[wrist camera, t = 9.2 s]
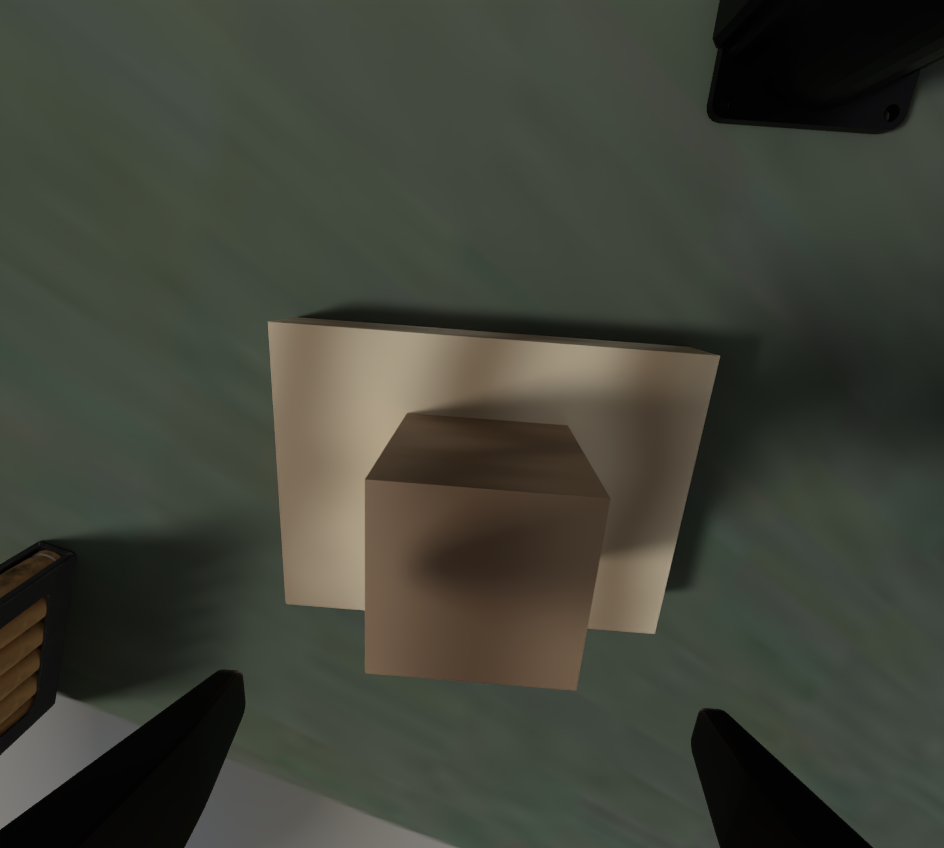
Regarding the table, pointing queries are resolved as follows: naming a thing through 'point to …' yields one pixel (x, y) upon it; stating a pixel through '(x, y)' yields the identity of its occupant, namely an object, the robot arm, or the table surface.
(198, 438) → the table surface
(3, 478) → the table surface
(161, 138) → the table surface
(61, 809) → the robot arm
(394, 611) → the walnut cube
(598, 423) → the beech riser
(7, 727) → the ammunition clip
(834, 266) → the table surface
